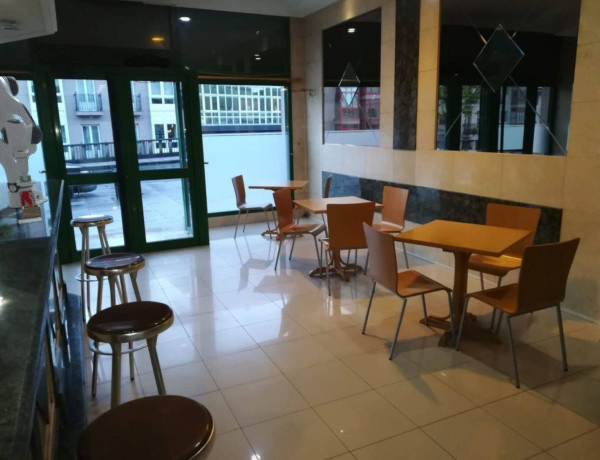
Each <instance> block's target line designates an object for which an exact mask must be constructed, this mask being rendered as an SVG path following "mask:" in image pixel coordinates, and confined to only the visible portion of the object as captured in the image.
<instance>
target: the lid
mask: <svg viewBox="0 0 600 460" xmlns="http://www.w3.org/2000/svg"><path fill="white" fill-rule="evenodd" d="M19 178H20V181H17V186H19V185H20V187H25V186H33V187H34V185H35V184H37V181H36V179H32V176H31V174H28V175H27V178H28V180H27V181H24V179H23V176H19Z"/></svg>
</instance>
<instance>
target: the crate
mask: <svg viewBox="0 0 600 460" xmlns="http://www.w3.org/2000/svg"><path fill="white" fill-rule="evenodd" d="M21 210H22V215H23V219H30V218H37V217H41V218H42V216H43V215H42V211H41V210H42V209H41V204H39V205H31V206H23V207H21Z"/></svg>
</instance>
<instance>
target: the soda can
mask: <svg viewBox="0 0 600 460" xmlns="http://www.w3.org/2000/svg"><path fill="white" fill-rule="evenodd" d="M19 197H20V202H21V207H20V208H22V207H23V206H31V205H36V201H35V196H34V192H33V191H32V189H23V190H20V193H19Z"/></svg>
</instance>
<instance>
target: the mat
mask: <svg viewBox="0 0 600 460" xmlns="http://www.w3.org/2000/svg"><path fill="white" fill-rule="evenodd" d="M17 221H18V225H25V224H31V223H39V222H43V219H42V216H41V217H34V218H26V219H24V218H23V219H18V220H17Z"/></svg>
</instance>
